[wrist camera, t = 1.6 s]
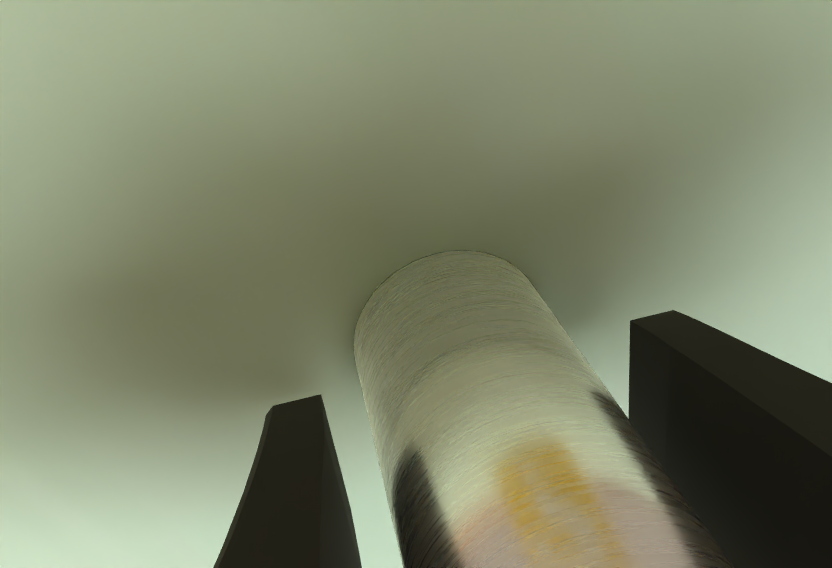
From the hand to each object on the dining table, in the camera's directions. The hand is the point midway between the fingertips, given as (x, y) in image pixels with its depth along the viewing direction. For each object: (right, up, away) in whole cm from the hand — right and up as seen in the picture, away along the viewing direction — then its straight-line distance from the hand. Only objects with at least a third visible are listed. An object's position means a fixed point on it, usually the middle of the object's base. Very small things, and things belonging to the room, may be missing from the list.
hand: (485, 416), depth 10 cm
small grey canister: (0, +1, +2) cm, 2 cm away
